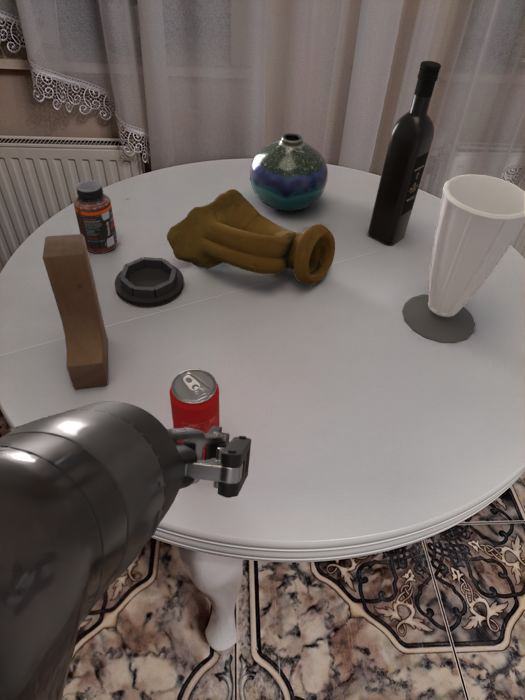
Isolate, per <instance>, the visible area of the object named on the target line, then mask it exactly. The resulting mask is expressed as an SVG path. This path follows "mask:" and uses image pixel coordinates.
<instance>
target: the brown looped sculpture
mask: <svg viewBox="0 0 525 700" xmlns="http://www.w3.org/2000/svg"><path fill="white" fill-rule="evenodd" d="M166 239H167V242H168V243H169V246H170V247H171V250H172V253H173V256H174V257H175V259H176V260H179V261H182V262H184V263H191V264H192V265H194V266H195V267H198V268H202V269H210V268H213V267H215V266H218V265H220V264H223V263H224V264H228V265H230V266H233V267H236V268H238V269H241V270H245V271H247V272H251V273H254V274H255V273H256V274H261V275H277V274H280V273H282V272H283V271H285V270H287V269H292V270H293V274H294V277H295V279H296V280H297V281H298V282H300V283H302V284H305V285H314V284H316V283H319V282H321V281H322V280H323V279H324V278H325V276H327V273H328V272H329V270H330V269H331V267H332V264H333V261H334V258H335V255H336V254H335V252H336V239H335V236H334V234H333V233H332V231H331V230H330V229H329V228H328V227H327V226H325V225H323V224H321V223H316V224H313V225H311V226H309V227H307V228H306V229H305V230H304V231H303V233H302V232H299V231H295V230H291V229H287V228H286V227H283V226H281V225H279V224H277V223H275V222H274V221H272V220H271V219H269V218H267V217H266V216H265V215H263V214H261V213H260V212H259V211H258V210H257V209H256V208H255V207H254V206H253V205H252V203H251V202H250V201H249V200H248V199H246V198H245V196H244V195H243V194H242V193H241V192H240V191H238V190H237V189H235V188H230V189H228V190H227V191H224V192H223V193H220V194H218V196H217V197H216V198H215V199H214V200H213V201H212V202H210V203H208V204H205V205H201V206H194V207H193V208H192V209H190V211H189V212H188V213H187V215H186V217H184V218H183V219H182V220H180V221H179V222H177V223H176V224H174V225H172V226H171V227H170V228H169V229H168V232H167V234H166Z"/></svg>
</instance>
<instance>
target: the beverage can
mask: <svg viewBox="0 0 525 700" xmlns="http://www.w3.org/2000/svg"><path fill="white" fill-rule="evenodd" d="M168 392H169V402H170V408H171V409H170V410H171V418H172V427H173V429H174V428H187V427H189V428H193V429H197V430H201V431H203V432H204V433H208V431H209V430H210V429H211V428H212V427H213V426H218V427H221V426H220V387H219V384H218V382H217V380H216V378H215V376H214V375H213V374H211V373H210V372H208V371H206V370H203V369H200V368H191V369H185V370H184V371H181V372H180V373H178V374H177V375H176V376H175V377H174V378H173V380H172V382H171V386H170V388H169V391H168ZM177 442H179V443H181V444H183V440H180V441H177ZM205 450H206V445H205V447H204V449H203V459H202V460H205Z"/></svg>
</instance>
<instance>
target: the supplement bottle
mask: <svg viewBox="0 0 525 700" xmlns="http://www.w3.org/2000/svg"><path fill="white" fill-rule="evenodd" d="M76 194H77V196H76V197H75V198H74V200H73V207H74V212H75V216H76V220H77V225H78V229H79V234H83V236H84V237H85V242H86V246H87V250H88V252H90V253H94V254H103V253H107V252H111V251H112V250H114V249H115V248H116V247H117V244H118V235H117V230H116V224H115V219H114V213H113V206H112V202H111V198H110V197H109V195H107V193H105V192H104V190H103V185H102V183H101V182H99V181H97V180H91V179H90V180H84V181H81V182H79V183H77V184H76Z"/></svg>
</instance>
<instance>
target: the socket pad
mask: <svg viewBox="0 0 525 700" xmlns="http://www.w3.org/2000/svg"><path fill="white" fill-rule="evenodd" d="M114 288H115V293H116V295H117V297H118V298H119V299H120V300H121V301H123V302H124V303H126V304H128V305H130V306H134V307H138V308H156V307H160V306H165V305H167V304H169V303H171V302H173V301H174V300H176V299H178V297H180V295H181V294H182V292H183V291H184V288H185V277H184V274H183V272H182V271H181V270H180V269H179V268H178V267H176V266H175V265H174V264H172V263H171V262H169V261H168V260H167V259H166V258H163V257H152V256H150V257H149V256H142V257H139V258H137V259H135V260H132V261H130V262H128V263H125V264H124V265H123V267H122V269H121V270H120V271H119V272H118V274H117V275H116V277H115V279H114Z"/></svg>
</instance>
